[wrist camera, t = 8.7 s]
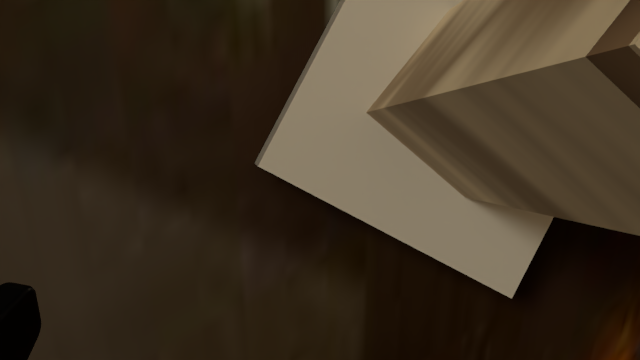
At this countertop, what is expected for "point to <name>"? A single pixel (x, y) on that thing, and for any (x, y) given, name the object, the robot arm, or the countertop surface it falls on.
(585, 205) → the oak post
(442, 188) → the base slab
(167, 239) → the countertop surface
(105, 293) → the countertop surface
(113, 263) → the countertop surface
